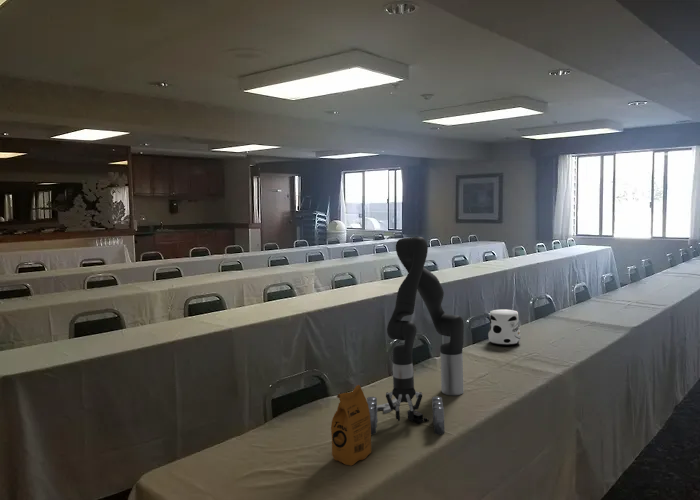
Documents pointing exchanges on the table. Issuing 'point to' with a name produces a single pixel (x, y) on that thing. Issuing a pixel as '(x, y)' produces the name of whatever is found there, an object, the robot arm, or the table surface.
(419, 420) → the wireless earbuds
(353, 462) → the coffee package
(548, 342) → the table surface
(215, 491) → the table surface
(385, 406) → the adjustable wrench
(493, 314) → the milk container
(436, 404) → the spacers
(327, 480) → the table surface
